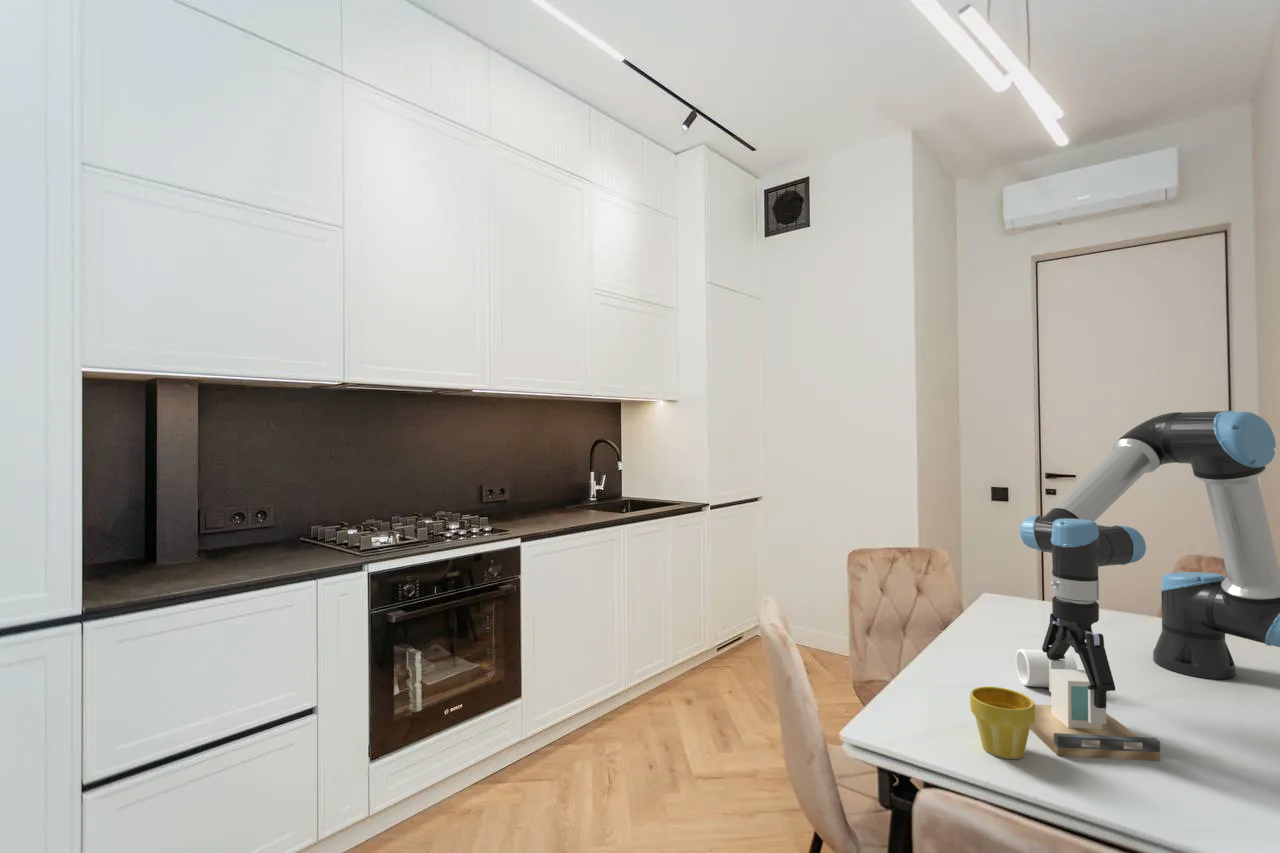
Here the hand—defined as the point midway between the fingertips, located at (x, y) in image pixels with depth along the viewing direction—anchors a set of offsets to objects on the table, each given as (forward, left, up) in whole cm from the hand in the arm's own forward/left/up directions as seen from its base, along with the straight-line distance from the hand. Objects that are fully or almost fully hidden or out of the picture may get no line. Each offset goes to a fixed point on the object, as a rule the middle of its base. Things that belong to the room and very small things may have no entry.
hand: (1076, 706), depth 123 cm
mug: (-5, -23, -5) cm, 24 cm away
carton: (0, 0, -3) cm, 3 cm away
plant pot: (+18, +10, -4) cm, 21 cm away
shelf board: (+1, +2, -4) cm, 5 cm away
